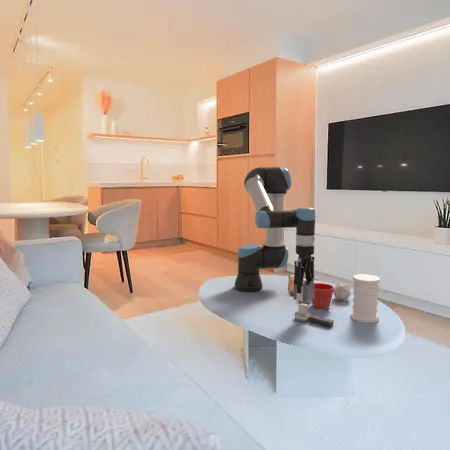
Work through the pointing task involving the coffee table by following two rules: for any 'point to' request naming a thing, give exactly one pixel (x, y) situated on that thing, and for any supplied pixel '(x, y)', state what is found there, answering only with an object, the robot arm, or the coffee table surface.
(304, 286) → the grey wood-grain cube
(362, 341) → the coffee table surface
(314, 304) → the flower pot
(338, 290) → the die
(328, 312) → the coffee table surface
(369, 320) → the decorative container
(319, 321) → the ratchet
